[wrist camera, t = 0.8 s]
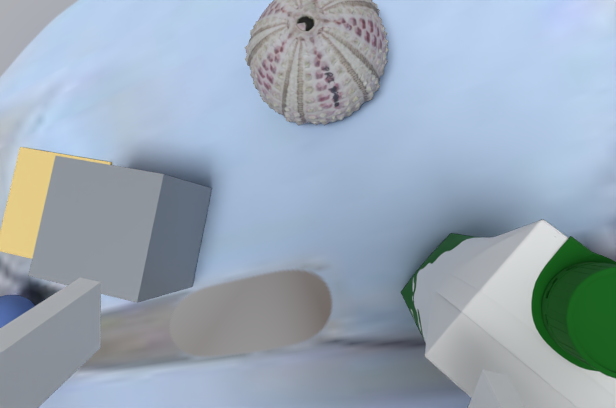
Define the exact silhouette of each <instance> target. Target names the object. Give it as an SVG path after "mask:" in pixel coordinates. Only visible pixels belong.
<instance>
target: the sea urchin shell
mask: <svg viewBox="0 0 616 408" xmlns="http://www.w3.org/2000/svg"><path fill="white" fill-rule="evenodd" d="M253 27H254V28H253V29H252V30H251V39H250V40H249V44H248V45H247V46H246V47H245V49H246V53H247V56H246V59H245V60H246V61H247V65H248V66H249V67H250V69H251V77H252V78H253V81H254V82H253V84H254V85H255V88H256V89H257V90H259V93H260V96H261V97H262V100H263V101H264V102H266V103H267V104H268V105H269V107H270V108H271V109H274V110H275V112H278V113H279V114H282V115H284V117H285V118H286V120H287V121H289V122H296V123H297V124H298V125H302V124H305V123H307V122H310V123H313V124H316V125H318V124H320V123H322V124H323V125H326V124H327V123H329V122H336V121H337V120H343V119H344V117H345V116H350V115H351V114H352V113H353V112H354V111H357V110H359V109H360V106H361V105H362V104H363V103H364V102H366V101H369V100H372V98H373V93H374V92H376V91H378V88H380V86H379V78H380V76H382V75H383V74H384V67H385V65H386V63H387V59H386V57H387V52H388V51H389V49H388V48H387V46H388V45H387V43H388V41H387V40H386V38H385V37H386V35H387V33H386V32H385V31H384V30H385V28H384V26H383V25H382V20H381V18H380V17H379V9H377V4H375V3H373V2H372V0H274V1H273V2H272V3H270V4H269V6H268V7H267V8H266V10H265V11H264V12H263V14H262V15H261V17H260V18H259V20H258V21H257V22H256V24H255V25H254V26H253Z"/></svg>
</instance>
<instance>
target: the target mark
mask: <svg viewBox="0 0 616 408" xmlns="http://www.w3.org/2000/svg"><path fill="white" fill-rule="evenodd" d="M55 156H61V157H67V158H73V159H79V160H85V161H90V162H96V163H102V164H108V165H111V164H112V163H111V162H106V161H100V160H94V159H88V158H82V157H76V156H70V155H64V154H58V153H52V152H46V151H41V150H35V149H29V148H23V147H20V149H19V154H18V158H17V162H16V167H15V171H14V175H13V180H12V184H11V188H10V193H9V197H8V201H7V205H6V210H5V214H4V218H3V223H2V227H1V231H0V251H1V252H6V253H10V254H14V255H18V256H23V257H27V258H31V259H32V258H33V253H34V249H35V244H36V240H37V235H38V231H39V227H40V222H41V218H42V213H43V209H44V204H45V200H46V196H47V191H48V187H49V182H50V178H51V173H52V169H53V165H54V160H55Z"/></svg>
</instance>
